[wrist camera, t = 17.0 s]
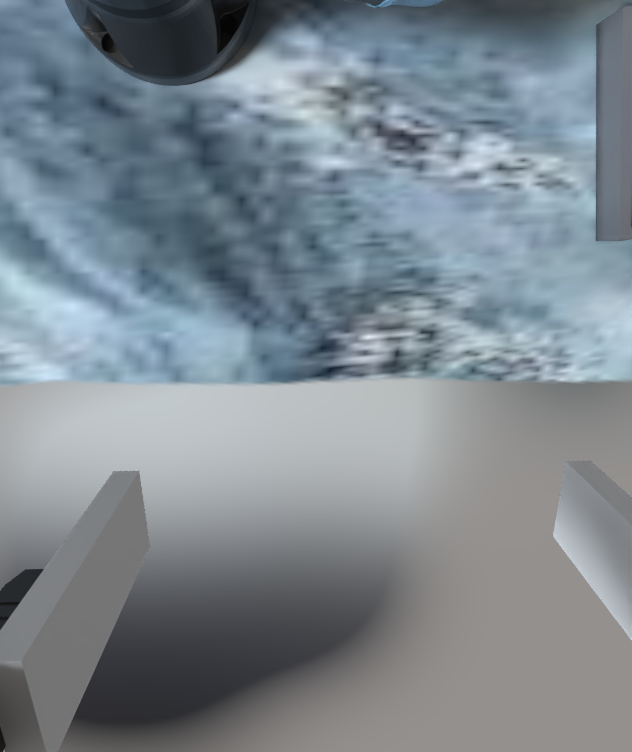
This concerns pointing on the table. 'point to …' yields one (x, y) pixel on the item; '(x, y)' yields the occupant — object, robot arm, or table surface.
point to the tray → (614, 127)
